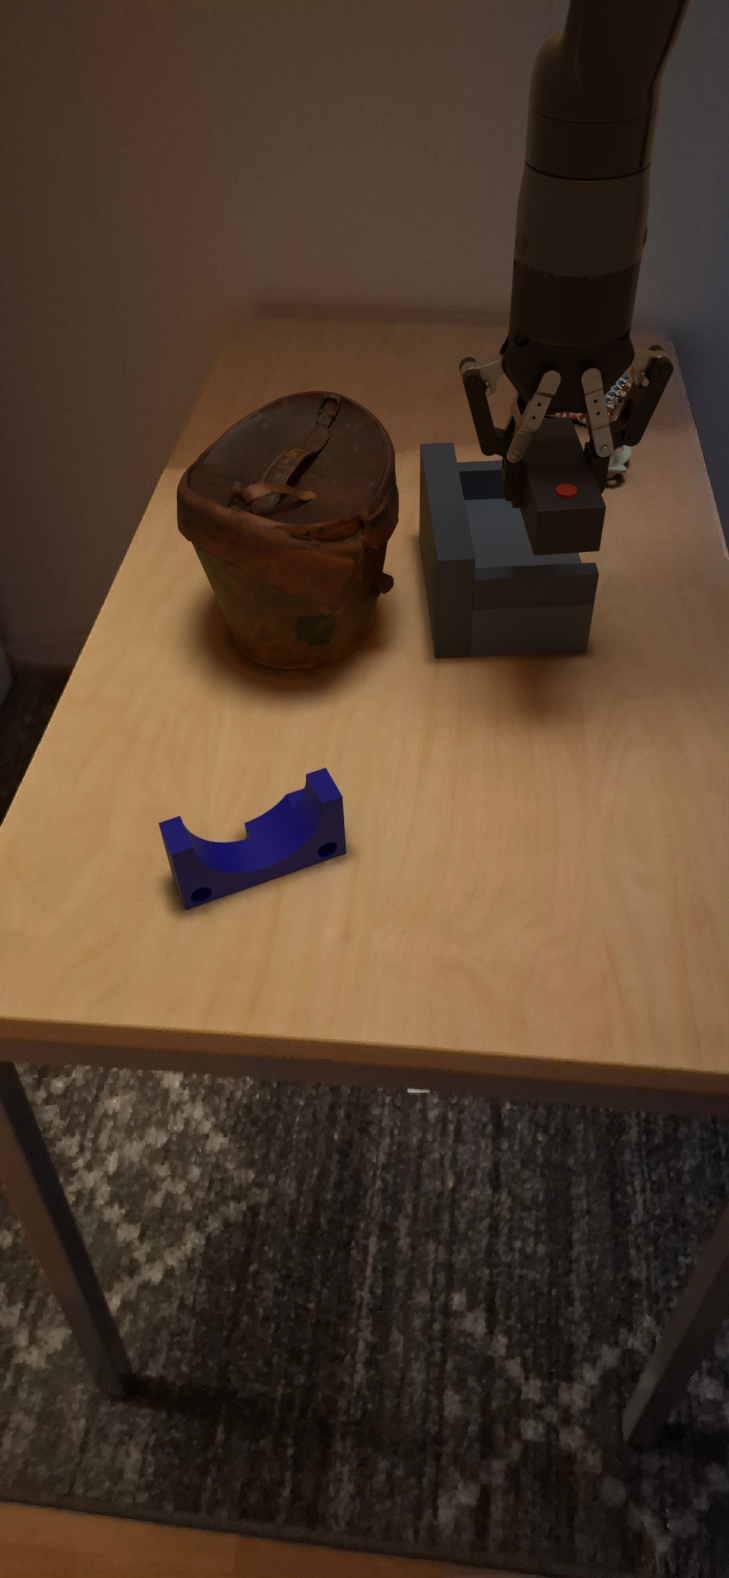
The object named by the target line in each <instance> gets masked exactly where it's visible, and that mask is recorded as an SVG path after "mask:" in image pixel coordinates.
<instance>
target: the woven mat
mask: <svg viewBox="0 0 729 1578" xmlns="http://www.w3.org/2000/svg"><path fill="white" fill-rule="evenodd" d="M629 377H630V376H629V375H625V376H621V377H620V378H619V379H618V381H617V382H616V383H615V384H614V385H613V386H612V388H611V389H610V390H609V391H608V392H607V393H606V395H605V401H606V406H607V411H608V416H609V419H610V418H611V412H612V411H614V410H615V406H618V403H619V400H620V399H626V396H627V394H628V392H627V391H629V390H630V387H631V385H632V383H630V382H629ZM545 416H546V417H548V418H549V417H550V418H564V417H571V420H572V421H578V422H579V423H581V424H583V425H585V426H587V424H586V420H585V415H584V413H571V412H565V411H563V412H560V413H557V414H553V415H544V417H545Z"/></svg>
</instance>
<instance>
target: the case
mask: <svg viewBox="0 0 729 1578" xmlns="http://www.w3.org/2000/svg"><path fill="white" fill-rule="evenodd" d="M197 457H198V458H196V460H194V461H193V463H192V464H190V465H189V466H188V467H187V468H186V470H185V471H184V472H183V473H182V475H181V477H180V480H179V481H178V484H177V488H176V522H177V523H176V525H177V529H178V531H179V533H180V534H181V536H182V537H184V539H186V541H188V542H190V543H191V544H192V546H193V549H194V551H195V554H196V556H197V558H198V560H199V563H200V564H201V567H202V569H203V571H204V573H205V576H206V578H207V580H208V583H209V584H210V587H211V590H212V592H213V594H214V596H215V598H216V601H217V603H218V605H219V608H220V609H221V612H222V614H223V616H224V619H225V621H226V624H227V625H228V628H229V630H230V633H231V636H232V639H233V640H234V642H235V644H236V646H237V647H238V649H239V651H241V653H242V654H243V655H244V656H245V657H247V658H248V659H250V660H251V661H252V662H254V663H256V664H258V665H260V666H264V667H266V668H270V669H275V670H307V669H314V668H319V667H323V666H325V665H329V664H330V663H333V662H335V661H337V660H339V659H341V658H343V657H345V656H347V655H348V654H350V653H351V652H352V651H354V650H355V649H356V648H357V647H358V646H360V644H362V643H363V641H364V640H365V639H366V637H367V636H368V635H369V633H370V631H371V629H372V627H373V623H374V620H375V619H374V618H375V615H376V610H377V604H378V599H379V598H380V596H381V594H382V595H386V594H388V593H389V592H390V591H391V590H392V589H393V588H394V586H395V579H394V577H393V576H392V575H391V574H388V573H386V572H384V568H385V567H384V566H385V562H386V554H387V549H388V543H389V540H390V539H391V538H392V536H393V534H394V532H395V530H396V528H397V525H398V523H399V521H400V520H399V519H400V518H399V515H400V493H399V488H398V484H397V474H396V450H395V447H394V443H393V441H392V439H391V436H390V435H389V433H388V431H387V429H386V428H385V426H384V425H383V424H382V422H381V421H380V420H379V419H378V418H377V416H376V415H375V414H374V413H373V412H371V410H369V409H368V408H366V407H365V406H364V405H362V404H361V403H360V402H358V401H356V400H354V399H352V398H350V397H348V396H346V395H343V394H340V393H337V392H333V391H327V390H309V391H308V390H307V391H301V392H294V393H290V394H288V395H284V396H281V397H279V398H277V399H274V400H272V401H270V402H268V403H265V404H264V405H262V407H260V408H257V409H256V410H254V411H253V412H250V413H249V414H247V415H245V416H244V417H243V418H241V419H239V420H238V421H236V422H235V423H234V424H233V425H232V426H230V427H229V428H228V429H226V430H225V431H224V432H223V433H222V434H221V435H220V436H219V438H217V440H215V441H214V442H212V443H211V444H210V445H208V447H206V448H205V450H204V451H203V452H201V453H200V454H199V455H198V456H197Z"/></svg>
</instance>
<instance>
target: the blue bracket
mask: <svg viewBox="0 0 729 1578" xmlns="http://www.w3.org/2000/svg"><path fill="white" fill-rule="evenodd" d="M158 827H159V832H160V834H161V838H162V842H163V846H164V849H165V853H166V857H167V861H168V863H169V864H168V865H169V868H170V872H171V876H172V880H173V882H174V884H175V887H176V889H177V892H178V895H179V897H180V899H181V903H182V905H183V907H184V909H185V911H187V910H189V909H193V908H195V907H198V906H201V905H204V904H207V903H209V902H212V901H215V900H218V899H220V898H223V897H226V896H229V895H232V894H234V893H237V892H240V891H243V890H246V889H249V888H252V887H255V886H258V885H260V884H263V883H265V882H268V881H272V880H274V879H278V878H279V877H282V876H286V875H288V874H291V873H294V872H297V871H299V870H303V869H305V868H308V867H311V866H313V865H316V864H319V863H323V862H324V861H328V860H330V859H334V858H336V857H340V856H341V855H344V854H347V842H346V841H347V840H346V828H345V827H346V826H345V812H344V797H343V794H342V793H341V791H340V790H339V787H338V786H337V784H336V782H335V780H334V779H333V777H332V776H331V773H330V772H329V771H328V769H327V767H323V768H320V769H318V770H314V771H311V772H308V773H305V784H304V787H303V788H301V789H298V790H295V791H292V792H288V793H286V794H285V795H284V796H283V797H282V798H281V799H280V800H279V801H278V802H277V803H276V804H275V805H274V806H273V807H271V808H270V809H269V810H267V811H265V812H264V813H263V814H261V815H259V816H257V817H255V818H253V819H250V820H248V821H246V822H244V829H245V830H244V831H245V835H246V838H244V839H240V840H235V841H214V840H207V839H205V838H202V837H200V836H197V835H195V834H194V833H193V832H191V831H190V830H189V829H188V828H187V826H185V824H184V821H183V819H182V816H181V815H178V816H175V817H172V818H169V819H166V820H163V821H159V822H158Z"/></svg>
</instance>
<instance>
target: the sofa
mask: <svg viewBox="0 0 729 1578" xmlns="http://www.w3.org/2000/svg"><path fill="white" fill-rule="evenodd" d="M501 469H502V459H500V460H499V459H498V460H477V461H458V460H457V453H456V449H455V444H454V442H433V443H431V442H430V443H429V442H428V443H420V445H419V511H418V514H419V515H418V516H419V519H418V521H419V522H418V523H419V524H418V525H419V527H418V530H419V531H418V534H419V535H418V541H419V547H420V549H419V550H420V555H421V564H422V571H423V579H424V587H425V593H426V602H427V610H428V617H429V624H430V633H431V641H432V649H433V655H434V659H447V658H469V657H470V658H471V657H472V658H473V657H474V658H475V657H491V656H492V657H493V656H494V657H495V656H496V657H497V656H513V655H514V656H515V655H535V654H536V655H537V654H539V655H540V654H557V653H558V654H559V653H579V652H587V650H588V644H589V639H590V632H591V627H592V620H593V615H594V608H595V601H596V596H597V589H598V583H599V579H600V578H599V577H600V572H599V569H598V565H597V563H596V562H582V559H581V555H580V553H567V554H552V555H537V556H534V555H533V551H532V548H531V545H530V541H529V538H528V535H527V531H526V528H525V524H524V521H523V518H522V514H521V511H520V508H512V505H511V502H510V501H506V500H505V498H504V495H503V492H502V488H501Z"/></svg>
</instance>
